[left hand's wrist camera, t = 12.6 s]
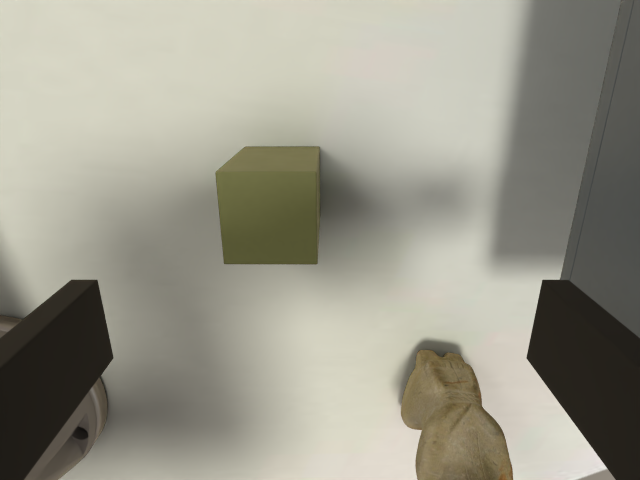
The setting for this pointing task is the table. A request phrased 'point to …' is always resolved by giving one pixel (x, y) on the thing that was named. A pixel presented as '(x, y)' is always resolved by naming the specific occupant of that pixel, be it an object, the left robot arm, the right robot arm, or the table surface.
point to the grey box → (612, 186)
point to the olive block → (270, 205)
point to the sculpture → (452, 422)
